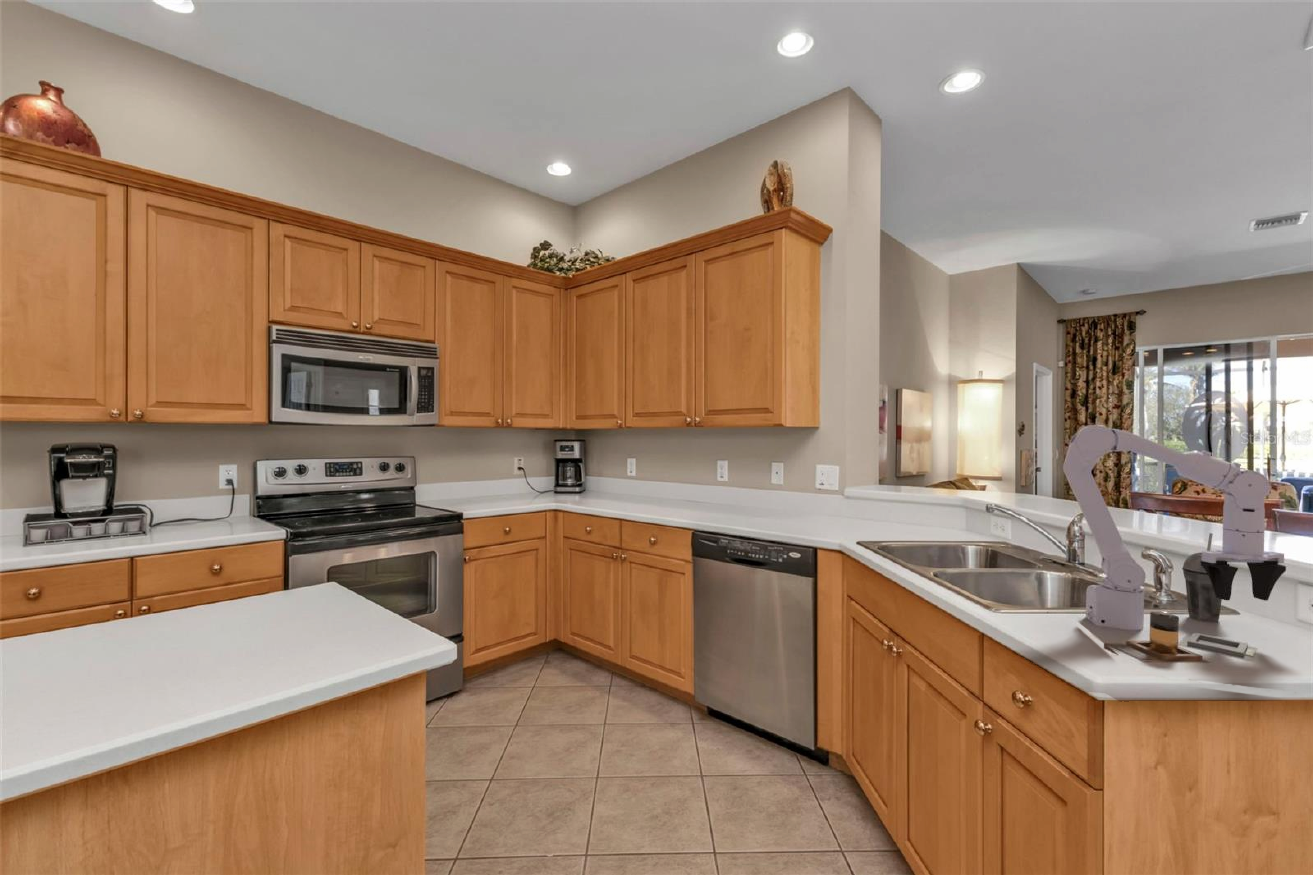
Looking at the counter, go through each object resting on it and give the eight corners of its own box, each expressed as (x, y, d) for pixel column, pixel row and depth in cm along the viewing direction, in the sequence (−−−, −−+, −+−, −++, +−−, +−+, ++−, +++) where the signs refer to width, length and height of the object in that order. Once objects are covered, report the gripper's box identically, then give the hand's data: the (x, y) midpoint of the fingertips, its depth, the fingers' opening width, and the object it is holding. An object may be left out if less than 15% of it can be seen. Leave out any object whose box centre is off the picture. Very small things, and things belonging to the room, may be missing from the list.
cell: (1155, 655, 105) (1156, 614, 105) (1145, 647, 109) (1146, 607, 109) (1182, 658, 104) (1183, 616, 104) (1171, 650, 108) (1172, 610, 108)
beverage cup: (1172, 617, 131) (1174, 529, 130) (1207, 618, 130) (1208, 530, 130) (1199, 628, 123) (1201, 535, 123) (1236, 629, 123) (1238, 536, 122)
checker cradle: (1252, 666, 103) (1252, 656, 103) (1177, 650, 111) (1177, 640, 111) (1257, 653, 109) (1257, 643, 109) (1186, 638, 117) (1186, 629, 117)
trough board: (1143, 667, 102) (1144, 657, 102) (1103, 648, 111) (1104, 639, 111) (1210, 667, 102) (1210, 657, 102) (1164, 648, 111) (1164, 639, 111)
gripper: (1227, 533, 108) (1225, 605, 109) (1302, 534, 109) (1301, 605, 109) (1192, 527, 115) (1190, 594, 116) (1262, 527, 116) (1261, 594, 116)
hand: (1241, 599), depth 113 cm, fingers open, 7 cm apart
